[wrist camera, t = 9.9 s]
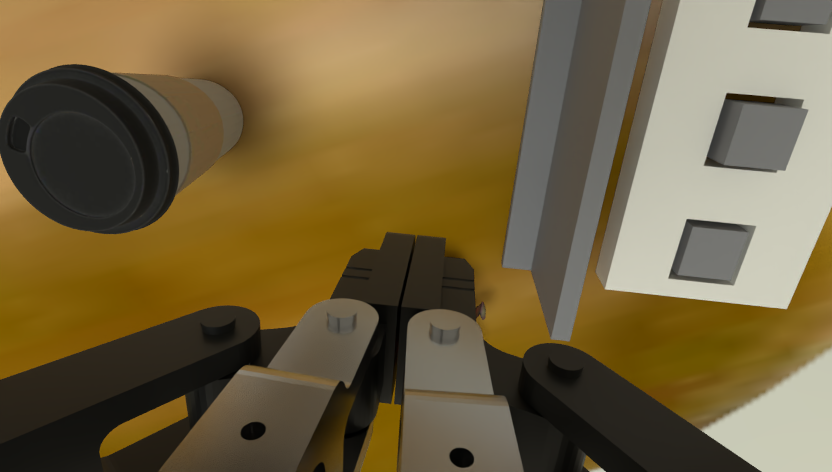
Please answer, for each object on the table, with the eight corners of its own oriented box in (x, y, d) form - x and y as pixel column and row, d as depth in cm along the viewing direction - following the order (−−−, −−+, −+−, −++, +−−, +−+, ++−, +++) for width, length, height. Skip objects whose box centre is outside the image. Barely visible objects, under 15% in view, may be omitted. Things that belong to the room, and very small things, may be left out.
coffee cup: (142, 55, 37) (-45, 65, 24) (259, 56, 37) (137, 67, 23) (165, 172, 41) (15, 241, 27) (272, 176, 40) (173, 248, 27)
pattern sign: (559, -96, 31) (605, -159, 21) (653, -90, 31) (745, -151, 21) (501, 261, 41) (513, 334, 31) (571, 269, 41) (607, 345, 31)
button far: (676, 213, 38) (693, 226, 35) (728, 218, 38) (748, 232, 35) (662, 258, 40) (677, 274, 37) (712, 263, 40) (731, 280, 37)
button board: (684, -88, 31) (706, -100, 28) (912, -72, 30) (958, -83, 27) (595, 272, 41) (604, 289, 38) (764, 290, 40) (786, 309, 37)
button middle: (720, 98, 34) (743, 103, 31) (780, 103, 33) (808, 109, 31) (703, 154, 35) (723, 164, 32) (759, 160, 35) (785, 170, 32)
